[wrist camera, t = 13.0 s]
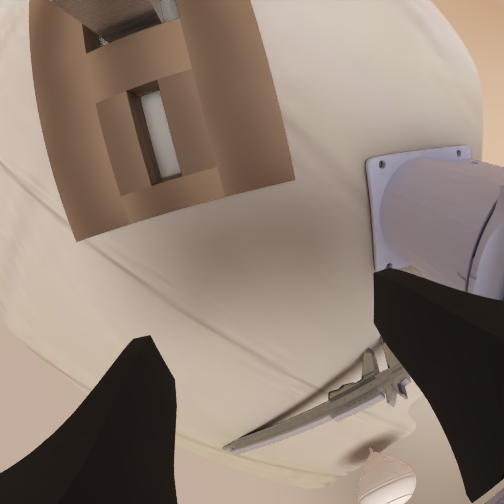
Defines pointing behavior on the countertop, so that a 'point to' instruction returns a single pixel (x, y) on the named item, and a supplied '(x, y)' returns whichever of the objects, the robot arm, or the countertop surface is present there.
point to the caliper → (337, 402)
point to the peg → (114, 15)
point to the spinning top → (385, 481)
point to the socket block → (175, 104)
